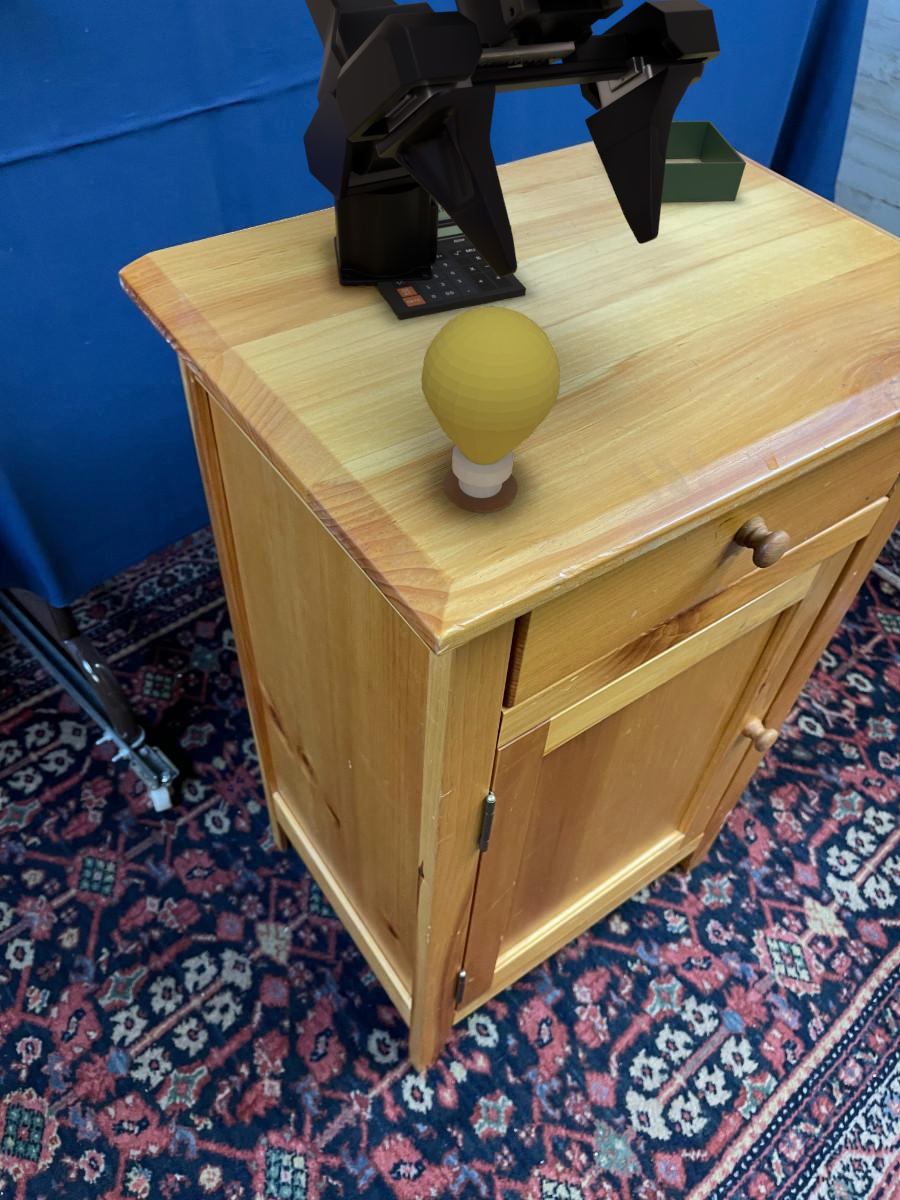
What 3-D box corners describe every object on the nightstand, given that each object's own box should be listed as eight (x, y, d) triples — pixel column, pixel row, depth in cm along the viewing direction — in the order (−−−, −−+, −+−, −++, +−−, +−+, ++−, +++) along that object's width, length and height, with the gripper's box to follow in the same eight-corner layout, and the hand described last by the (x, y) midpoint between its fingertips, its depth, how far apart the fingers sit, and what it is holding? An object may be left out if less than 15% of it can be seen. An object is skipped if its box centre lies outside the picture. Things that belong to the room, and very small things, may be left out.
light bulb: (532, 442, 49) (557, 279, 42) (550, 525, 45) (582, 359, 37) (415, 444, 49) (419, 278, 41) (421, 528, 44) (427, 360, 37)
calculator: (399, 324, 57) (399, 282, 55) (341, 243, 64) (339, 203, 62) (524, 299, 60) (529, 258, 58) (456, 224, 67) (458, 185, 65)
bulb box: (637, 202, 70) (645, 164, 68) (609, 158, 75) (616, 121, 73) (735, 200, 71) (746, 162, 69) (700, 157, 76) (710, 120, 74)
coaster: (449, 515, 45) (449, 512, 45) (438, 465, 48) (438, 462, 48) (524, 509, 46) (524, 507, 46) (509, 460, 48) (509, 458, 48)
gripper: (408, -277, 27) (537, 239, 30) (782, -225, 36) (848, 171, 39) (281, -63, 36) (391, 311, 40) (601, -64, 45) (667, 243, 49)
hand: (582, 257), depth 42 cm, fingers open, 9 cm apart
